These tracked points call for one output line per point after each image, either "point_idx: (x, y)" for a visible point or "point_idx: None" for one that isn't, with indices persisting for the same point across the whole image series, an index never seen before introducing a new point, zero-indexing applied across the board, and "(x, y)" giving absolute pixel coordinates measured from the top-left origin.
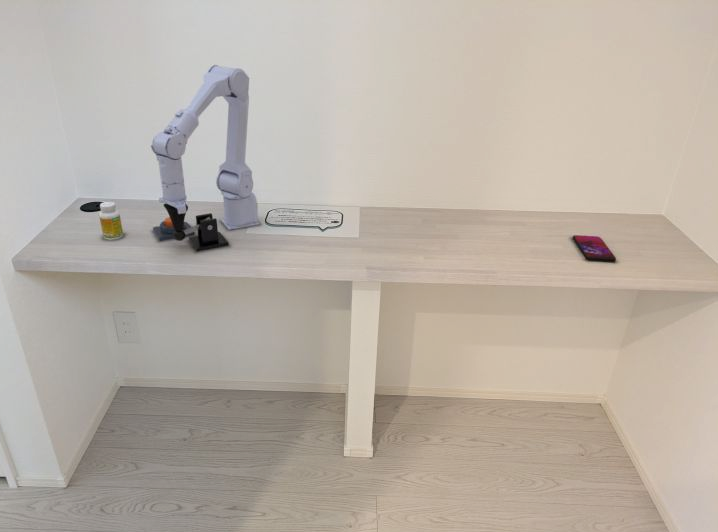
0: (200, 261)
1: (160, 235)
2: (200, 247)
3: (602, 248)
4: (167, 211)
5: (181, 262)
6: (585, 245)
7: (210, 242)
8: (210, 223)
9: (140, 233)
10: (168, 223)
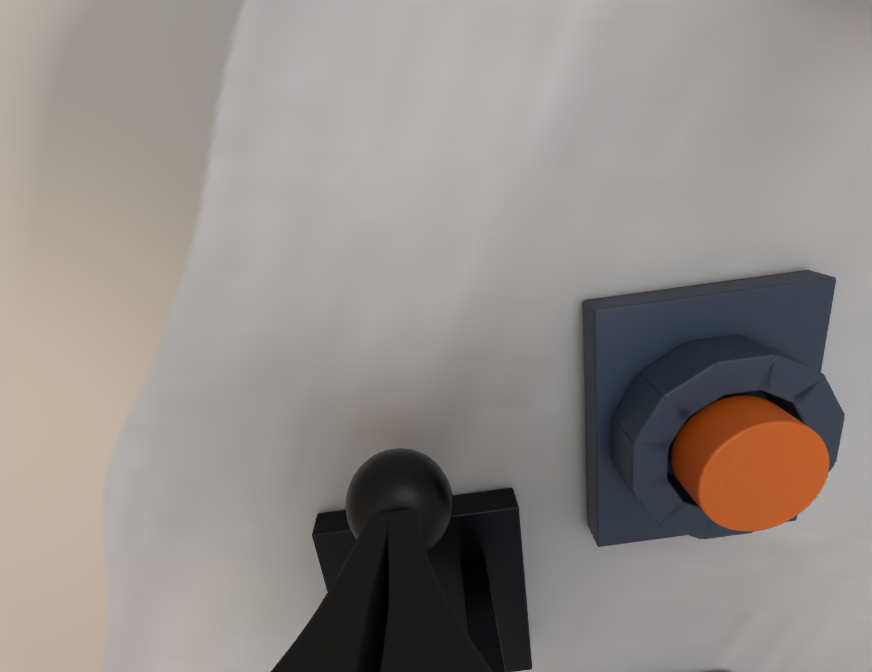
0: (176, 517)
1: (635, 324)
2: (320, 556)
3: None
4: (440, 670)
5: (178, 411)
6: None
7: None
8: None
9: (823, 158)
10: (712, 437)
